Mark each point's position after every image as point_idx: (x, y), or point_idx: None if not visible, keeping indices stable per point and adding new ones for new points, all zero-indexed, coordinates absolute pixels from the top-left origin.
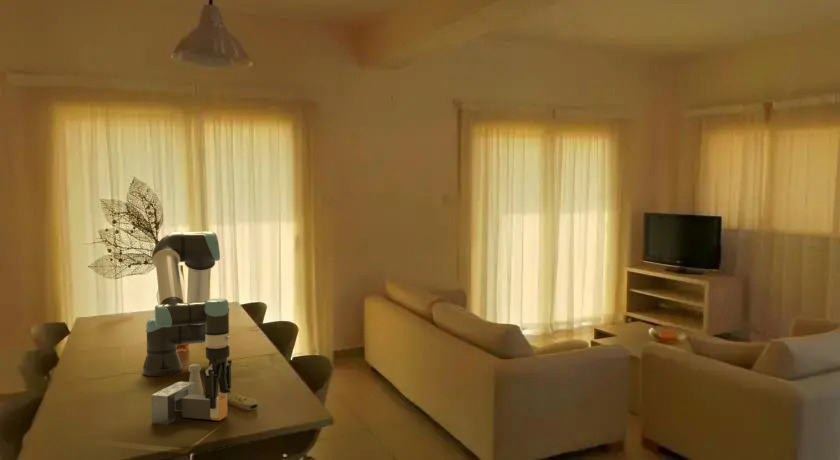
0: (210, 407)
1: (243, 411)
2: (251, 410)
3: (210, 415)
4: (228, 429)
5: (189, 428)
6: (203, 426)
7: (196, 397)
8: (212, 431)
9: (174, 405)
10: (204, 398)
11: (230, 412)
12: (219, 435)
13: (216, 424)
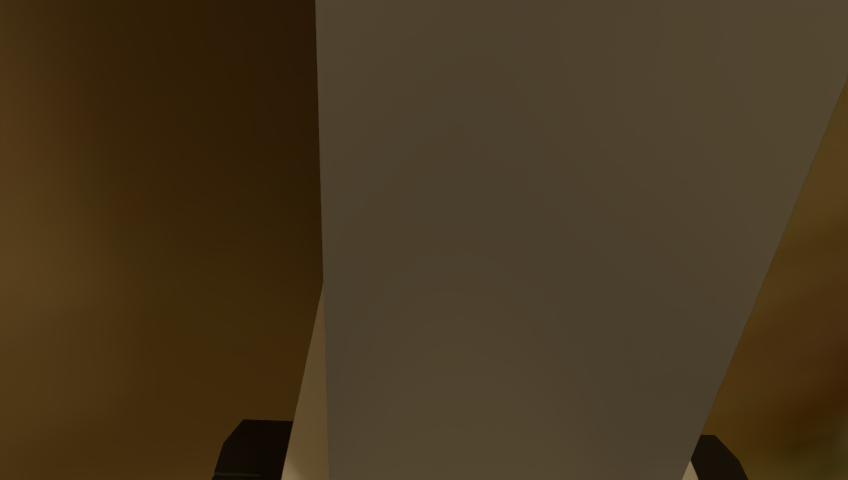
0: (228, 448)
1: (789, 406)
2: (813, 462)
3: (321, 295)
4: (213, 472)
5: (31, 34)
6: (188, 197)
7: (509, 19)
8: (93, 367)
9: None
10: (444, 322)
11: (769, 288)
12: (37, 463)
13: (308, 314)
